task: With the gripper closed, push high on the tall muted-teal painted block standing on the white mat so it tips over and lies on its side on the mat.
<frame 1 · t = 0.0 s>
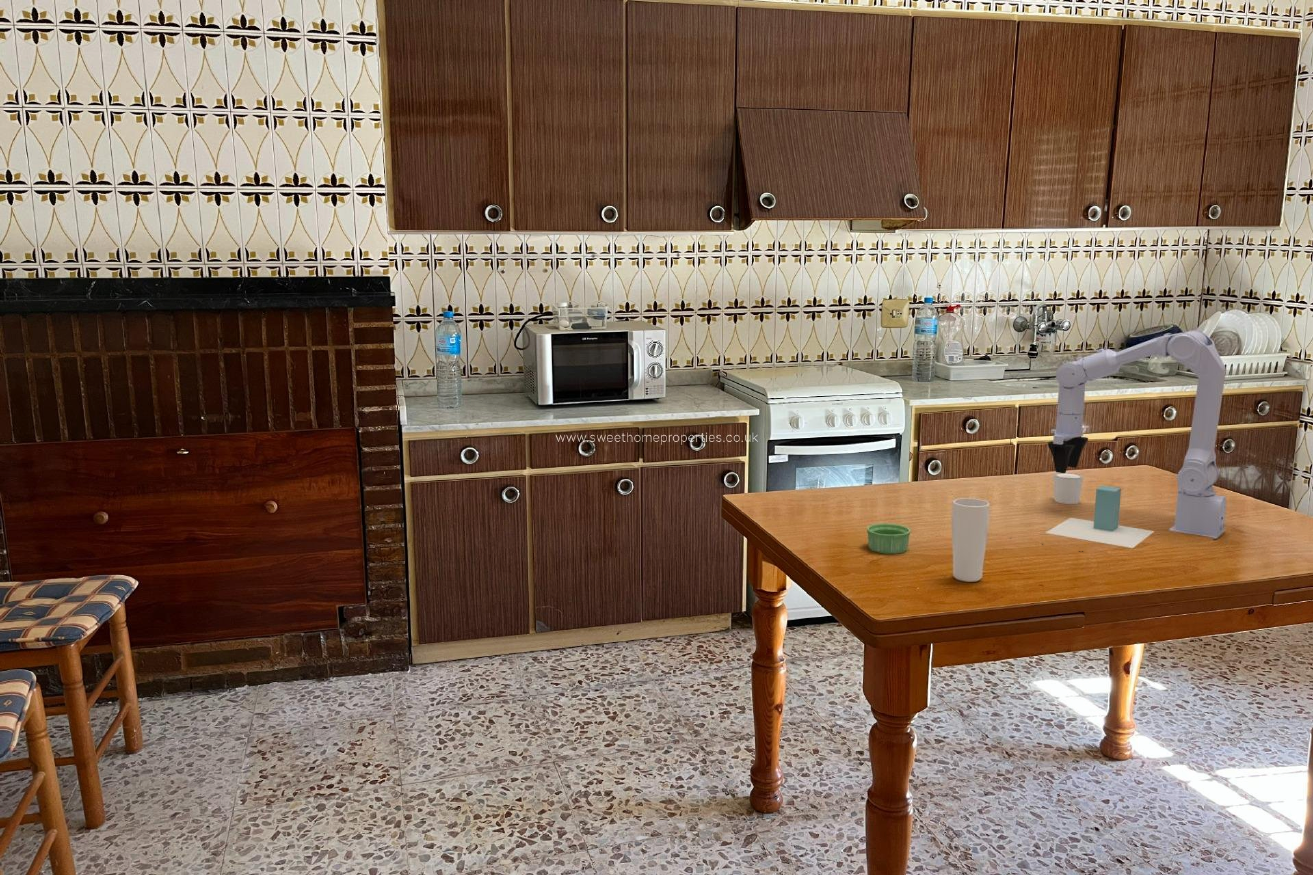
hand: (1066, 469, 239), 10 cm above the table, fingers open, 7 cm apart
teal block: (1105, 528, 224), point 1 cm above the table, touching white mat
drinking glass: (967, 579, 193), on the table
ramekin: (887, 549, 213), on the table
white mat: (1099, 534, 221), on the table
white cylinder: (1066, 504, 248), on the table
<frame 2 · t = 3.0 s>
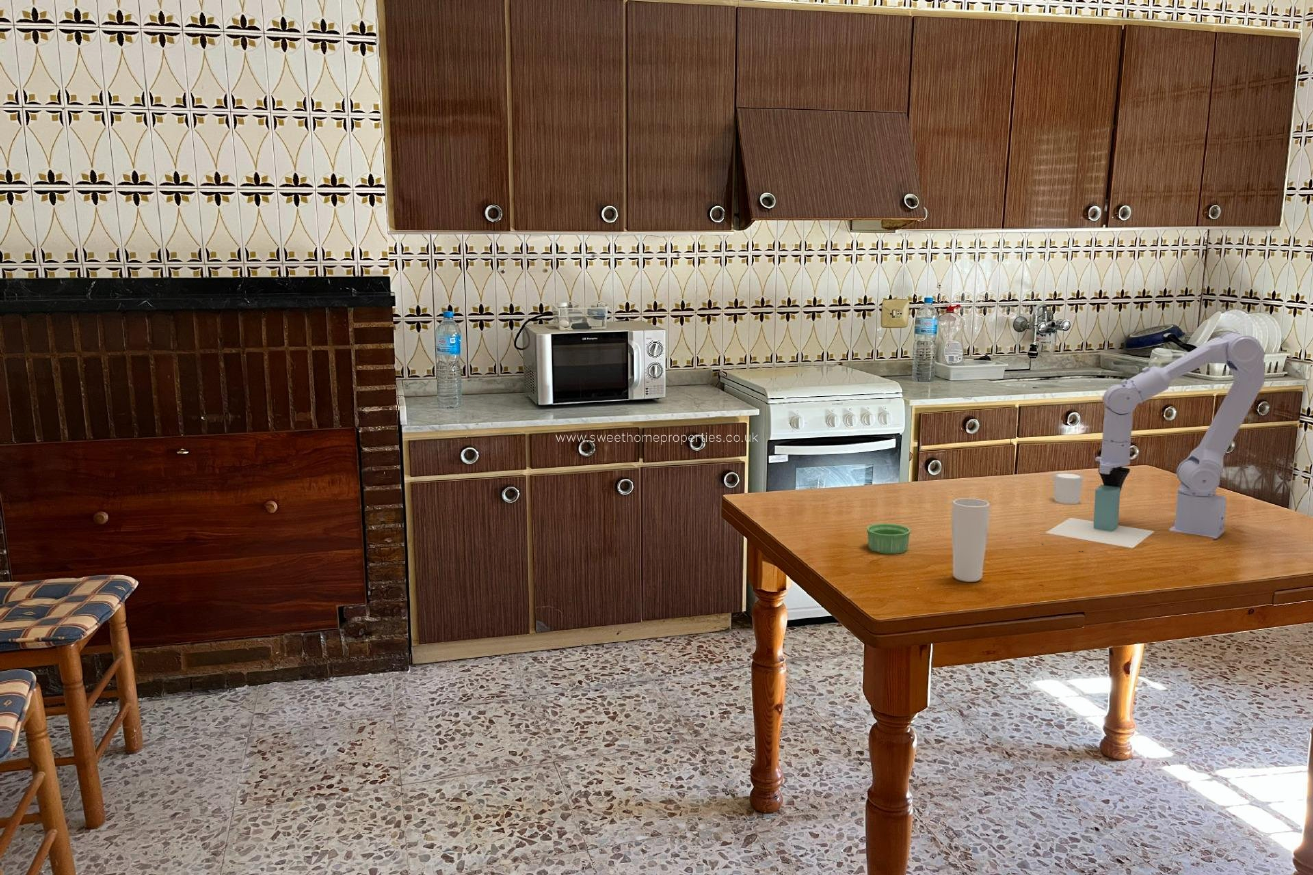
hand: (1111, 499, 225), 6 cm above the table, fingers closed
nothing on the table moved.
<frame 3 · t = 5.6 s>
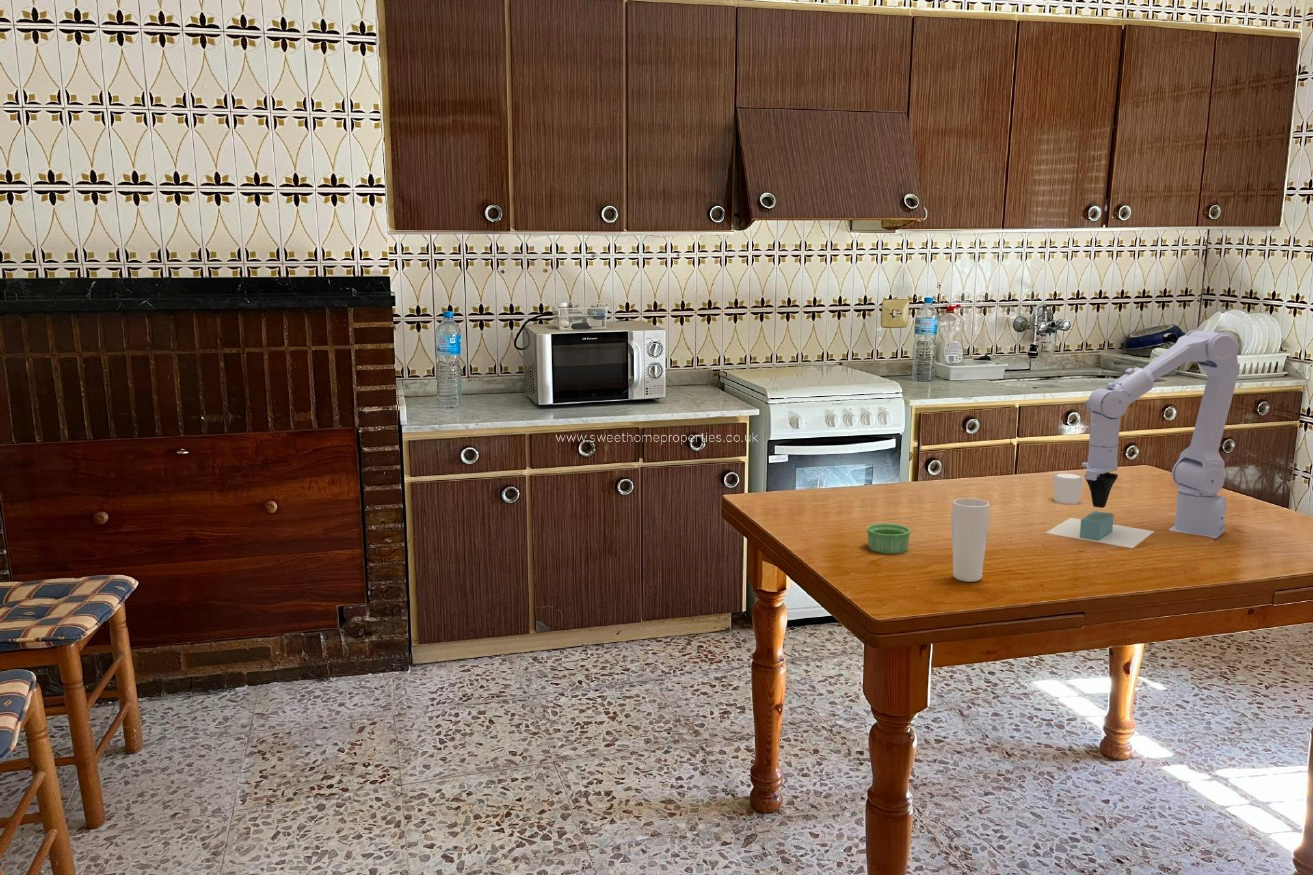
hand: (1099, 506, 218), 7 cm above the table, fingers closed
teal block: (1103, 521, 222), point 3 cm above the table, tilted 90°, touching white mat
everything else where it was.
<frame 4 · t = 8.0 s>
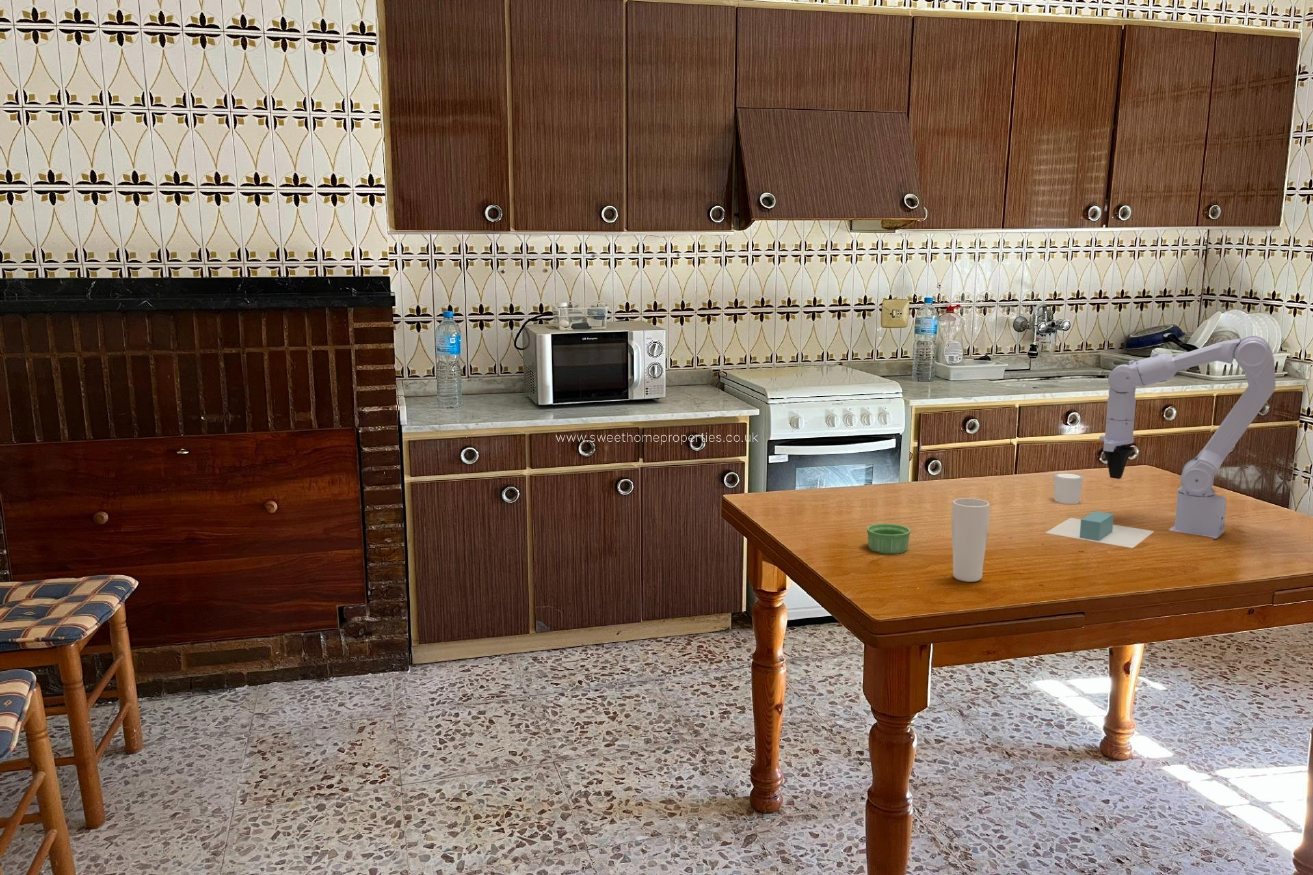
hand: (1115, 477, 229), 10 cm above the table, fingers closed
nothing on the table moved.
at the end: teal block tilted 90°; teal block inside the target area on the white mat (2.5 cm from its centre), point 2.6 cm above the white mat's base; teal block touching white mat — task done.
